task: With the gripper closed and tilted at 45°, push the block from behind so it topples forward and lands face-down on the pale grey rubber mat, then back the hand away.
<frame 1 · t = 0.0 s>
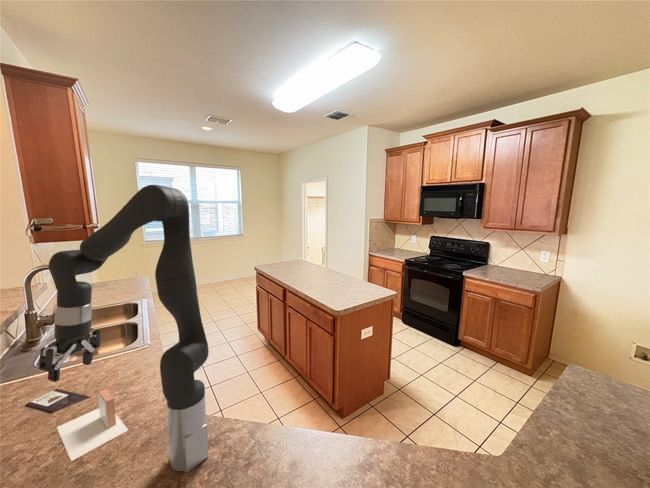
hand: (71, 371, 75), 22 cm above the countertop, tool pointing down, fingers open, 8 cm apart
mat: (92, 431, 81), on the countertop
block: (108, 420, 85), point 1 cm above the countertop, touching mat
chocolate bar: (58, 403, 95), on the countertop
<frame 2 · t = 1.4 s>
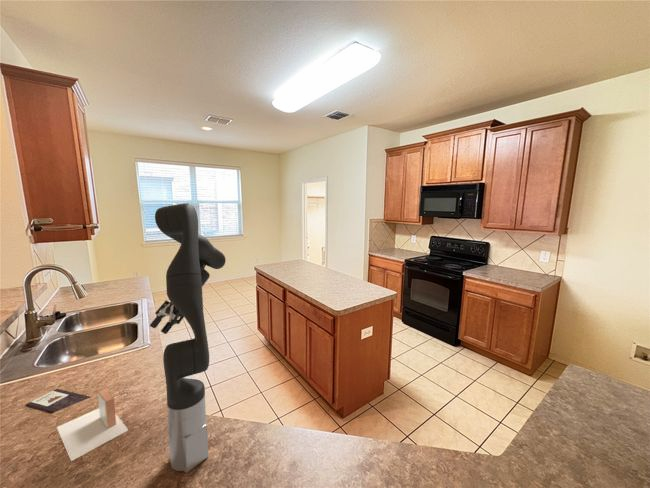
hand: (157, 330, 94), 27 cm above the countertop, tool tilted 45°, fingers open, 8 cm apart
nothing on the countertop moved.
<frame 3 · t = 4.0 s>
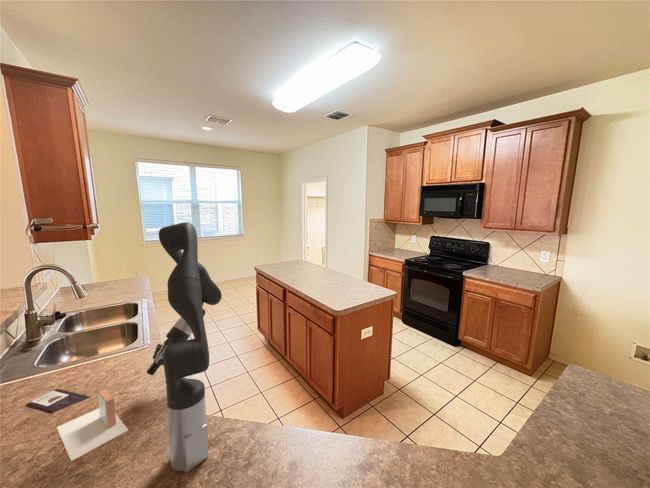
hand: (149, 373, 94), 11 cm above the countertop, tool tilted 45°, fingers closed
nothing on the countertop moved.
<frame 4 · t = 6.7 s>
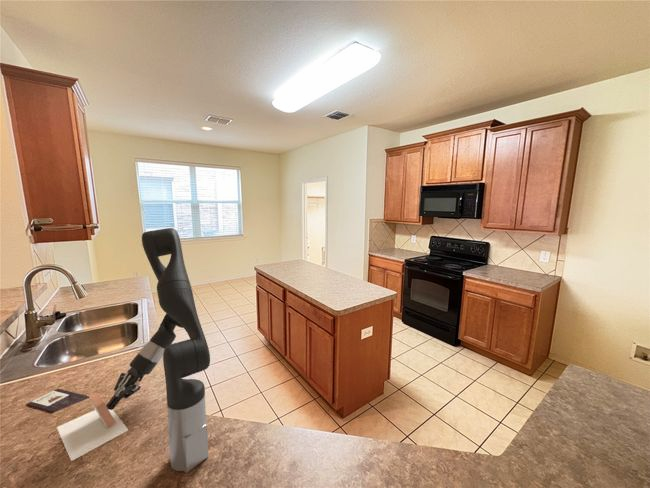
hand: (108, 408, 85), 5 cm above the countertop, tool tilted 45°, fingers closed
block: (108, 420, 85), point 1 cm above the countertop, tilted 16°, touching mat
everything else where it was.
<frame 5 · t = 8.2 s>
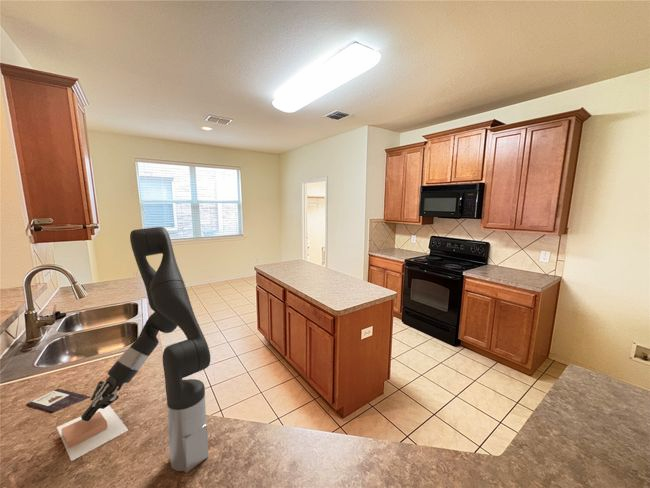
hand: (84, 419, 80), 5 cm above the countertop, tool tilted 45°, fingers closed
block: (103, 419, 84), point 2 cm above the countertop, tilted 90°, touching mat
everything else where it was.
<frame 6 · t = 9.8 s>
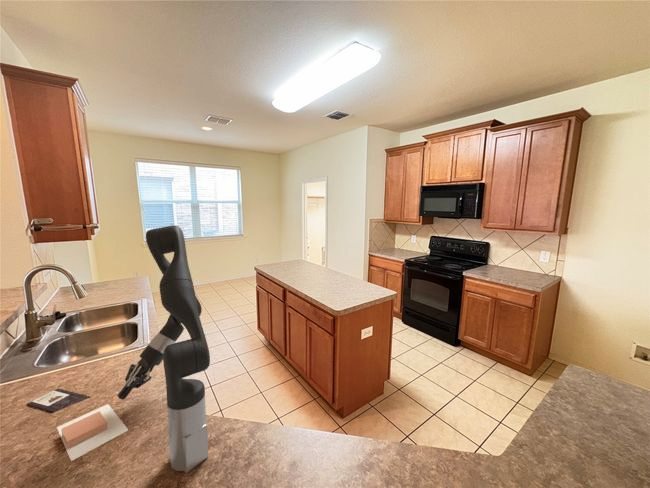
hand: (120, 398, 87), 7 cm above the countertop, tool tilted 45°, fingers closed
nothing on the countertop moved.
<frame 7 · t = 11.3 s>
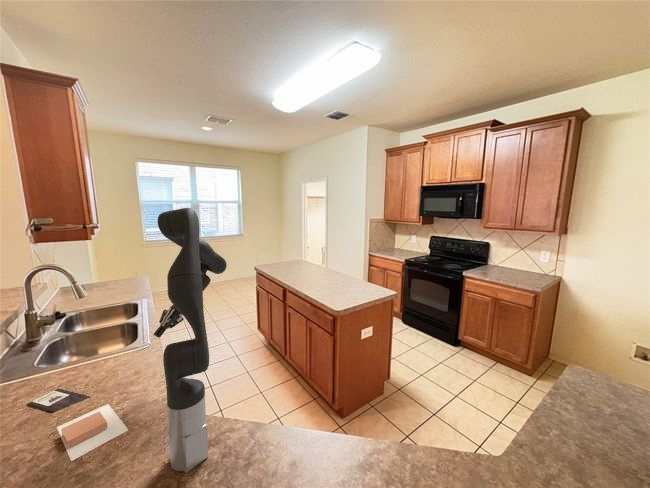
hand: (156, 336, 95), 24 cm above the countertop, tool tilted 45°, fingers closed
nothing on the countertop moved.
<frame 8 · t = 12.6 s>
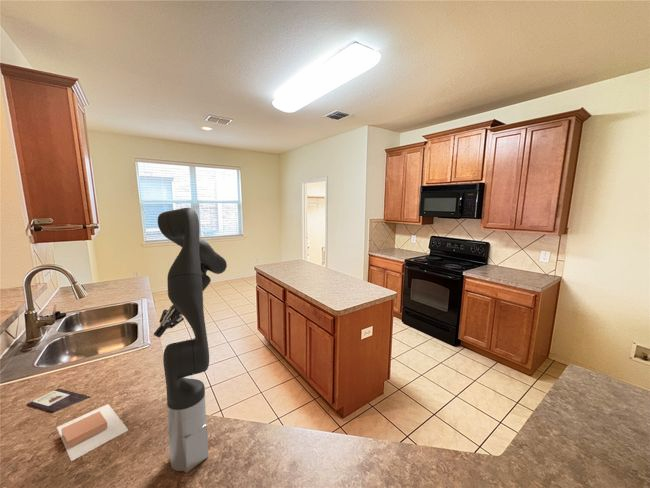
hand: (156, 336, 95), 24 cm above the countertop, tool tilted 45°, fingers closed
nothing on the countertop moved.
at the end: block tilted 90°; block inside the target area (2.2 cm from its centre), point 2.0 cm above the countertop; block touching mat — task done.
